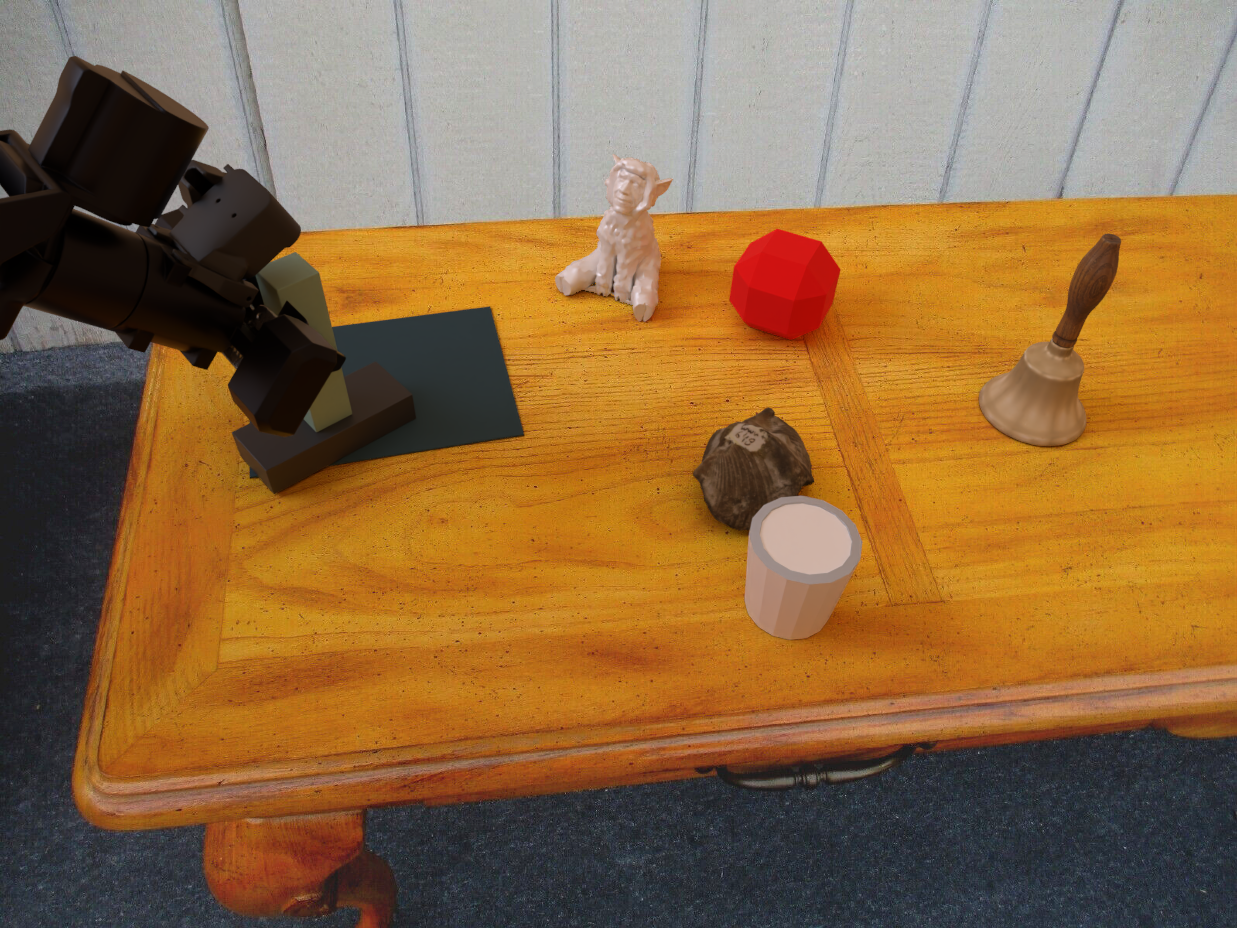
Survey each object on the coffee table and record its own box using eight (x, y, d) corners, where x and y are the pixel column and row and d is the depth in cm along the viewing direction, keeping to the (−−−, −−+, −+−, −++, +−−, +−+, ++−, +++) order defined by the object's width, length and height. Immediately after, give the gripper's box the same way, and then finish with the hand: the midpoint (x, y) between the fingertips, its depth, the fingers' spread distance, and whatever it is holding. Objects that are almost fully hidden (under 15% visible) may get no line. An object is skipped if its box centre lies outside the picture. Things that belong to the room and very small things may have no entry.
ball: (834, 309, 84) (853, 235, 79) (806, 362, 79) (823, 287, 74) (750, 283, 87) (762, 209, 81) (717, 332, 82) (727, 258, 76)
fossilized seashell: (769, 401, 72) (660, 465, 70) (802, 376, 66) (683, 446, 63) (821, 486, 72) (714, 553, 69) (859, 469, 65) (742, 543, 63)
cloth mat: (249, 478, 69) (249, 477, 68) (250, 338, 79) (250, 337, 79) (524, 435, 72) (524, 434, 72) (490, 307, 83) (490, 306, 83)
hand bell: (956, 394, 77) (1024, 224, 65) (1029, 364, 80) (1107, 196, 68) (1032, 461, 72) (1120, 290, 61) (1107, 425, 75) (1205, 256, 64)
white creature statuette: (551, 294, 84) (548, 171, 76) (595, 245, 90) (597, 125, 81) (648, 326, 82) (657, 203, 73) (687, 273, 87) (700, 153, 78)
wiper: (274, 495, 67) (215, 327, 56) (240, 456, 70) (177, 288, 59) (416, 418, 73) (388, 252, 62) (380, 384, 75) (347, 220, 65)
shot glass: (719, 622, 62) (732, 556, 56) (756, 547, 66) (771, 479, 61) (821, 664, 60) (844, 600, 54) (852, 584, 64) (876, 518, 59)
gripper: (266, 230, 47) (468, 319, 60) (116, 91, 56) (319, 194, 70) (161, 414, 49) (378, 461, 63) (33, 251, 59) (246, 322, 72)
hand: (329, 350), depth 67 cm, fingers closed on wiper, 3 cm apart
